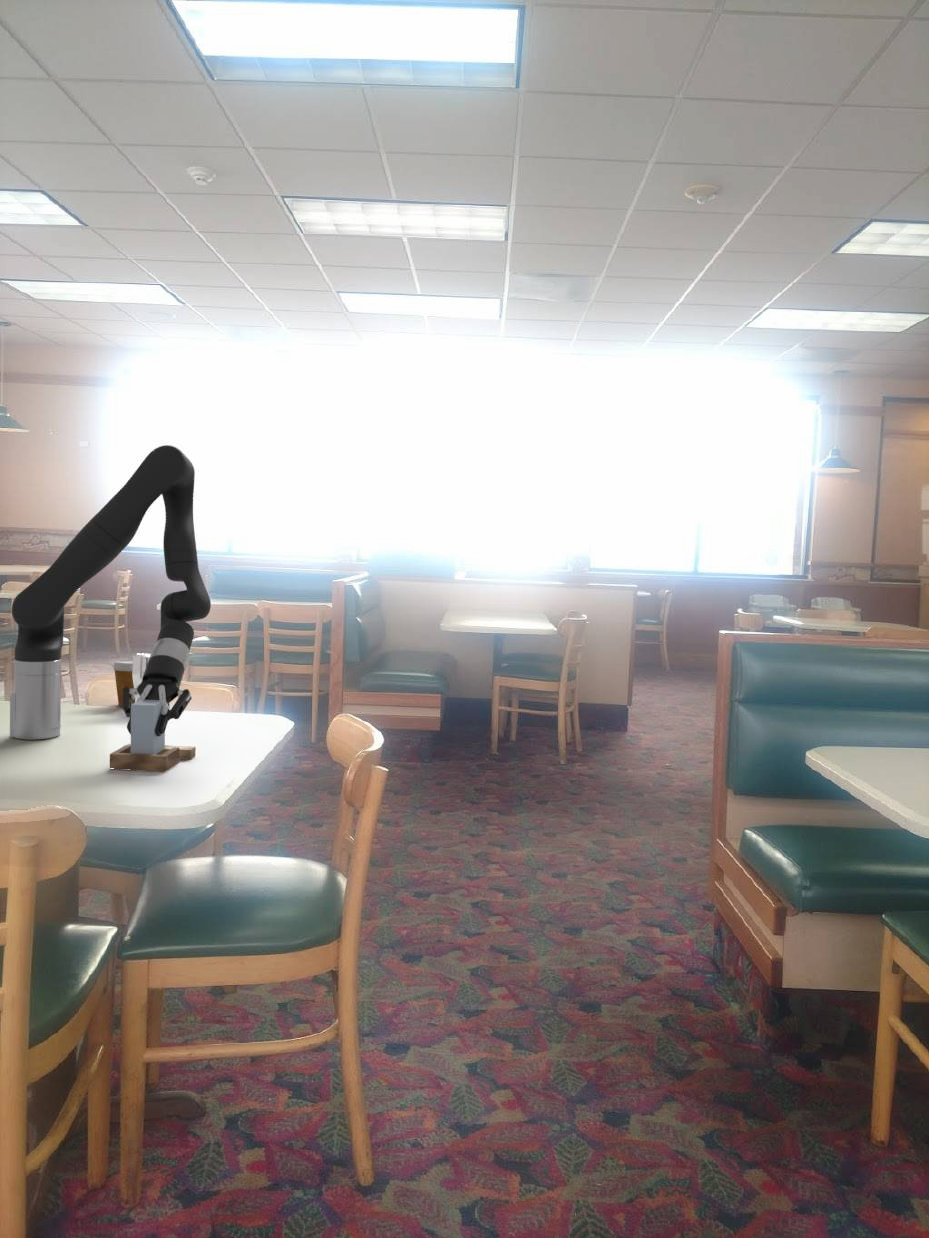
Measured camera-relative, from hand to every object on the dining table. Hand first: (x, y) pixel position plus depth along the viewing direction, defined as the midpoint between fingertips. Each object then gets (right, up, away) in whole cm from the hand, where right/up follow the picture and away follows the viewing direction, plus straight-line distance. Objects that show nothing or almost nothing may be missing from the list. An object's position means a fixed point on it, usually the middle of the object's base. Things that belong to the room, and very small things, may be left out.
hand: (144, 733), depth 163 cm
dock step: (-1, -6, +9) cm, 11 cm away
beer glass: (-21, -2, +54) cm, 58 cm away
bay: (0, -7, +2) cm, 7 cm away
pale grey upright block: (0, -4, +2) cm, 4 cm away
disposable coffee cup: (-28, -1, +62) cm, 68 cm away
